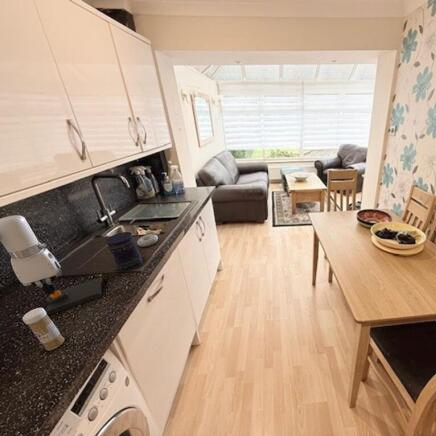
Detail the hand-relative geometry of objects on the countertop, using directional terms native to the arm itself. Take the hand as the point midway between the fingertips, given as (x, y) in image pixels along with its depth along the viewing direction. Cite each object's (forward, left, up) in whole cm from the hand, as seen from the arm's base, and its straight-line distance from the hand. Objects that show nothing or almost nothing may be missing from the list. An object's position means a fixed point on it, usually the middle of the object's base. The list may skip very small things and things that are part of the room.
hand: (52, 292), depth 89 cm
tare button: (0, 0, -2) cm, 2 cm away
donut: (+32, +30, -6) cm, 44 cm away
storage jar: (+24, +12, -6) cm, 27 cm away
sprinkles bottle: (+4, -24, -6) cm, 25 cm away
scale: (+6, 0, -5) cm, 8 cm away
